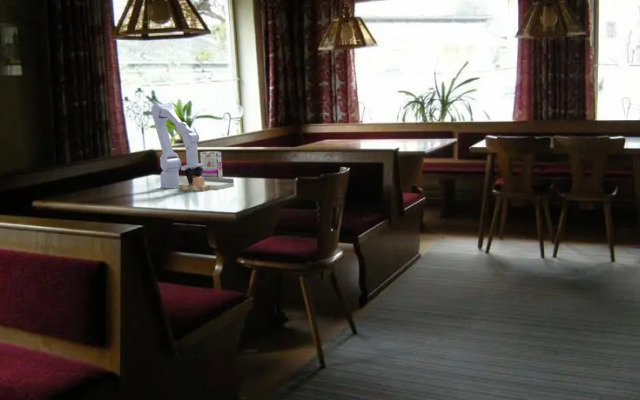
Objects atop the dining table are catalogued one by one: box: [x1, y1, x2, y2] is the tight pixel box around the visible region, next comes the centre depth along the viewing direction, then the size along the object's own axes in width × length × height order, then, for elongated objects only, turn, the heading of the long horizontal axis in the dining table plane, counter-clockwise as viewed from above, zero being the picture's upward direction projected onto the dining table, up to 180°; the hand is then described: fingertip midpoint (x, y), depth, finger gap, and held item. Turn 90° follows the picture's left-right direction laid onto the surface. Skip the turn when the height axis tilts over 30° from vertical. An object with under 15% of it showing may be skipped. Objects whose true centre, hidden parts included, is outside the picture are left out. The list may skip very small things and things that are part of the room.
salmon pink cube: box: [193, 177, 204, 186], centre depth 350 cm, size 4×4×4 cm
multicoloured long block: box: [177, 175, 211, 192], centre depth 352 cm, size 18×5×7 cm, turn 55°
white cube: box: [182, 176, 189, 185], centre depth 354 cm, size 4×4×4 cm
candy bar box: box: [199, 151, 224, 178], centre depth 381 cm, size 11×5×16 cm, turn 68°
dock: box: [200, 175, 235, 190], centre depth 362 cm, size 24×12×4 cm, turn 55°
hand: (193, 182), depth 352 cm, fingers closed on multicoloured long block, 4 cm apart
